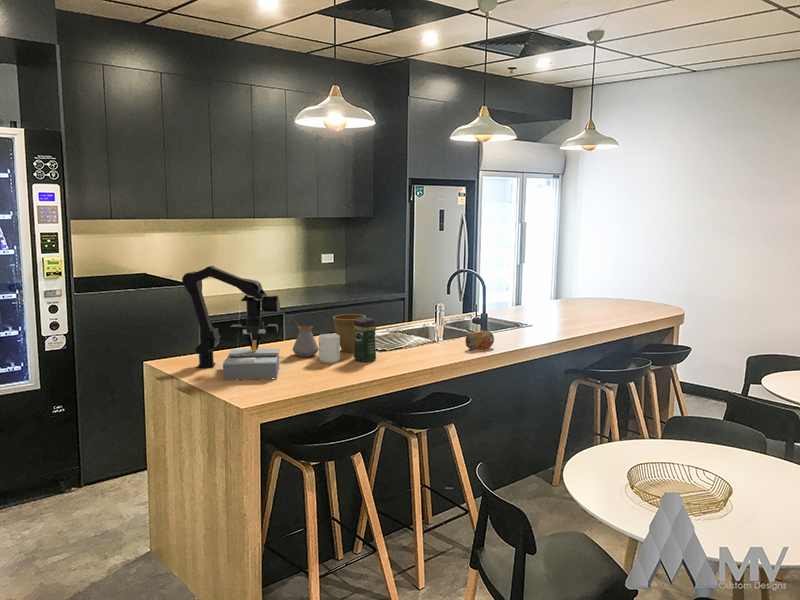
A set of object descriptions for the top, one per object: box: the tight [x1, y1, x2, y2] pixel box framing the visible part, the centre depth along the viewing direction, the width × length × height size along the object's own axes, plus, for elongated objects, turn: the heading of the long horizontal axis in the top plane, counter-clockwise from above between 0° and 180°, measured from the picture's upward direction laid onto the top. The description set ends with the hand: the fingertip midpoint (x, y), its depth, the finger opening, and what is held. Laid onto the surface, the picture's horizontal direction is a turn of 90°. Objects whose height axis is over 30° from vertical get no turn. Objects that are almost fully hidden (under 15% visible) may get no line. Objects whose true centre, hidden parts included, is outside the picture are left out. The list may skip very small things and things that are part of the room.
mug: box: [318, 333, 341, 364], centre depth 279 cm, size 12×9×11 cm
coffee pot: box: [287, 317, 319, 358], centre depth 292 cm, size 21×12×15 cm, turn 34°
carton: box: [222, 353, 280, 381], centre depth 255 cm, size 16×20×6 cm
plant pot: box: [332, 313, 367, 353], centre depth 298 cm, size 15×15×16 cm
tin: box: [464, 330, 495, 351], centre depth 305 cm, size 15×3×8 cm, turn 118°
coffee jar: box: [353, 317, 377, 362], centre depth 281 cm, size 10×8×19 cm
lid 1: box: [228, 340, 281, 356], centre depth 266 cm, size 8×20×5 cm, turn 97°
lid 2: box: [222, 357, 277, 366], centre depth 251 cm, size 8×20×2 cm, turn 97°
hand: (254, 349), depth 266 cm, fingers closed on lid 1, 2 cm apart
